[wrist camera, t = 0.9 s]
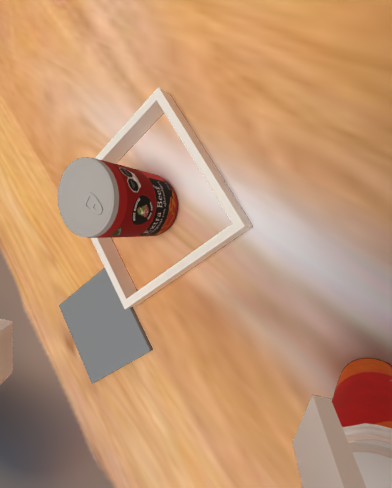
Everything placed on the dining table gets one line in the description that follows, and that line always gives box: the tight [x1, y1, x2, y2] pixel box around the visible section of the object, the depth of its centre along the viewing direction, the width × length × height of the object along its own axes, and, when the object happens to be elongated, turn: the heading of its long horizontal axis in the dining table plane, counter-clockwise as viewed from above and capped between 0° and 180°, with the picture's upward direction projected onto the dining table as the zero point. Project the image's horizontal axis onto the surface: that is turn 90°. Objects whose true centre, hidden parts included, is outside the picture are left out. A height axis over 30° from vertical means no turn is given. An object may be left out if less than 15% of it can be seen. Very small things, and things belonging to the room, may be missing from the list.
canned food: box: [58, 157, 177, 238], centre depth 33 cm, size 8×8×11 cm
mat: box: [59, 268, 153, 384], centre depth 43 cm, size 13×13×1 cm
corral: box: [91, 87, 253, 309], centre depth 37 cm, size 19×19×2 cm
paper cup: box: [332, 358, 392, 488], centre depth 21 cm, size 8×8×14 cm
